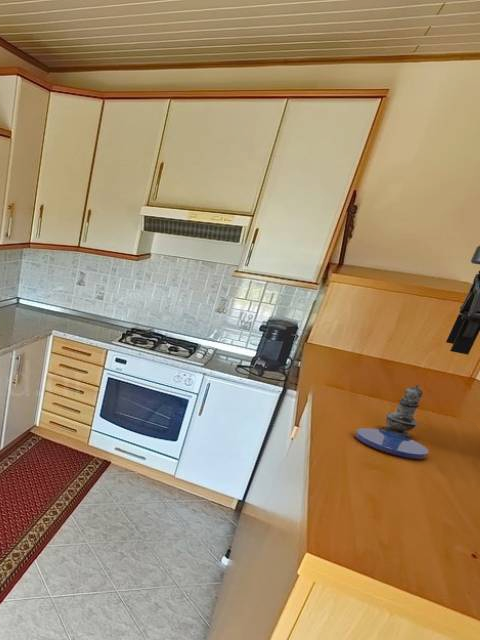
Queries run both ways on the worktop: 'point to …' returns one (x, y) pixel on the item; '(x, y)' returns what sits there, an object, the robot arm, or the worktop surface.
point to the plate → (392, 443)
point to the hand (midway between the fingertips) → (456, 348)
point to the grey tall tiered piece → (404, 413)
